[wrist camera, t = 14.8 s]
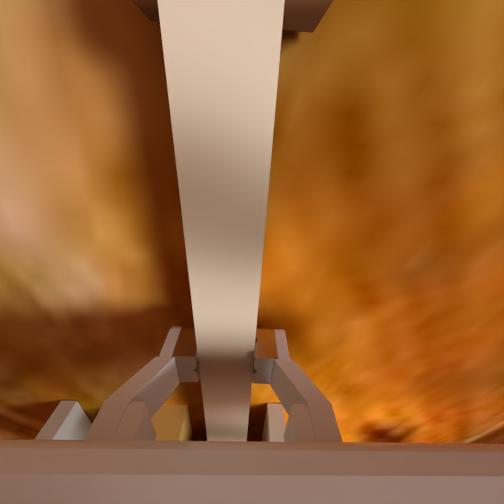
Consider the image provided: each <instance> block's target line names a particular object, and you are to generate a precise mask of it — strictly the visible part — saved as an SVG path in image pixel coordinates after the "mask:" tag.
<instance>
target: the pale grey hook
mask: <svg viewBox="0 0 504 504" xmlns="http://www.w3.org/2000/svg"><path fill="white" fill-rule="evenodd" d="M132 1H133V2H134V3H135V4H136V5H137V6H138V7H139V8H140V9H141V10H142V11H143V13H144V14H145V15H146V16H147V17H148V18H149V19H150V20H151V21H159V22H160V27H161V36H162V45H163V53H164V62H165V71H166V80H167V89H168V97H169V106H170V115H171V124H172V133H173V142H174V150H175V159H176V168H177V177H178V186H179V194H180V203H181V212H182V221H183V230H184V238H185V247H186V256H187V265H188V274H189V283H190V291H191V300H192V309H193V318H194V327H195V335H196V344H197V350H198V362H199V367H200V379H201V388H202V397H203V406H204V415H205V423H206V432H207V441H247V432H248V420H249V408H250V397H251V385H252V373H253V362H254V350H255V339H256V327H257V315H258V304H259V292H260V281H261V269H262V257H263V246H264V234H265V223H266V211H267V199H268V188H269V176H270V165H271V153H272V141H273V130H274V118H275V106H276V95H277V83H278V72H279V60H280V48H281V37H282V30H286V31H300V32H313V31H314V30H315V28H316V27H317V25H318V23H319V22H320V20H321V19H322V17H323V16H324V14H325V12H326V11H327V9H328V8H329V6H330V4H331V3H332V1H333V0H132Z"/></svg>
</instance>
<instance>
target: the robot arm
mask: <svg viewBox="0 0 504 504" xmlns="http://www.w3.org/2000/svg"><path fill="white" fill-rule="evenodd" d="M199 377H200V367H199V362H198V350H197V344H196V335H195V327H184V326H183V327H182V326H172V327H171V328H170V330H169V332H168V335H167V337H166V340H165V342H164V345H163V347H162V350H161V352H160V354H159V357H154V358H153V359H152V360H151V361H150V362H149V363H147V364H146V365H145V366H144V367H143V368H142V369H140V370H139V371H138V372H137V373H136V374H135V375H133V376H132V377H131V378H130V379H129V380H128V381H126V382H125V383H124V384H123V385H122V386H121V387H119V388H118V389H117V390H116V391H115V392H114V393H112V394H111V395H110V396H109V397H108V398H107V399H106V400H105V401H104V403H103V405H102V407H101V408H100V410H99V412H98V414H97V416H96V418H95V420H94V421H93V423H92V425H91V427H90V429H89V431H88V433H87V434H86V436H85V438H84V440H40V439H0V504H504V444H458V443H356V442H342V439H341V435H340V432H339V429H338V425H337V422H336V419H335V415H334V412H333V409H332V405H331V403H330V402H329V401H328V400H327V398H326V397H325V396H324V395H323V394H322V393H321V391H320V390H319V389H318V388H317V387H316V386H315V384H314V383H313V382H312V381H311V380H310V379H309V378H308V376H307V375H306V374H305V373H304V372H303V371H302V369H301V368H300V367H299V366H298V365H297V364H296V362H295V361H294V360H290V356H289V351H288V345H287V340H286V334H285V330H284V329H256V339H255V350H254V362H253V373H252V383H262V384H271V387H272V388H273V390H274V392H275V393H276V395H277V397H278V398H279V400H280V402H281V403H282V405H283V407H284V408H285V410H286V412H287V413H288V415H289V418H288V422H287V426H286V429H285V433H284V442H255V441H155V439H156V432H155V429H154V426H153V424H152V421H151V418H152V417H153V416H154V415H155V413H156V412H157V411H158V410H159V408H160V407H161V406H162V405H163V403H164V402H165V401H166V400H167V399H168V397H169V396H170V395H171V394H172V392H173V391H174V390H175V389H176V387H177V386H178V385H179V384H180V383H179V382H198V381H199Z"/></svg>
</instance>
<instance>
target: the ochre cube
mask: <svg viewBox="0 0 504 504" xmlns="http://www.w3.org/2000/svg"><path fill="white" fill-rule="evenodd" d="M151 421H152V424H153V426H154V429H155V432H156V439H155V441H191V438H192V429H191V423H190V418H189V412H188V407H187V405H162V406H161V407H160V408H159V410H158V411H157V412H156V413H155V415H154V416H153V417H152V418H151Z"/></svg>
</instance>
